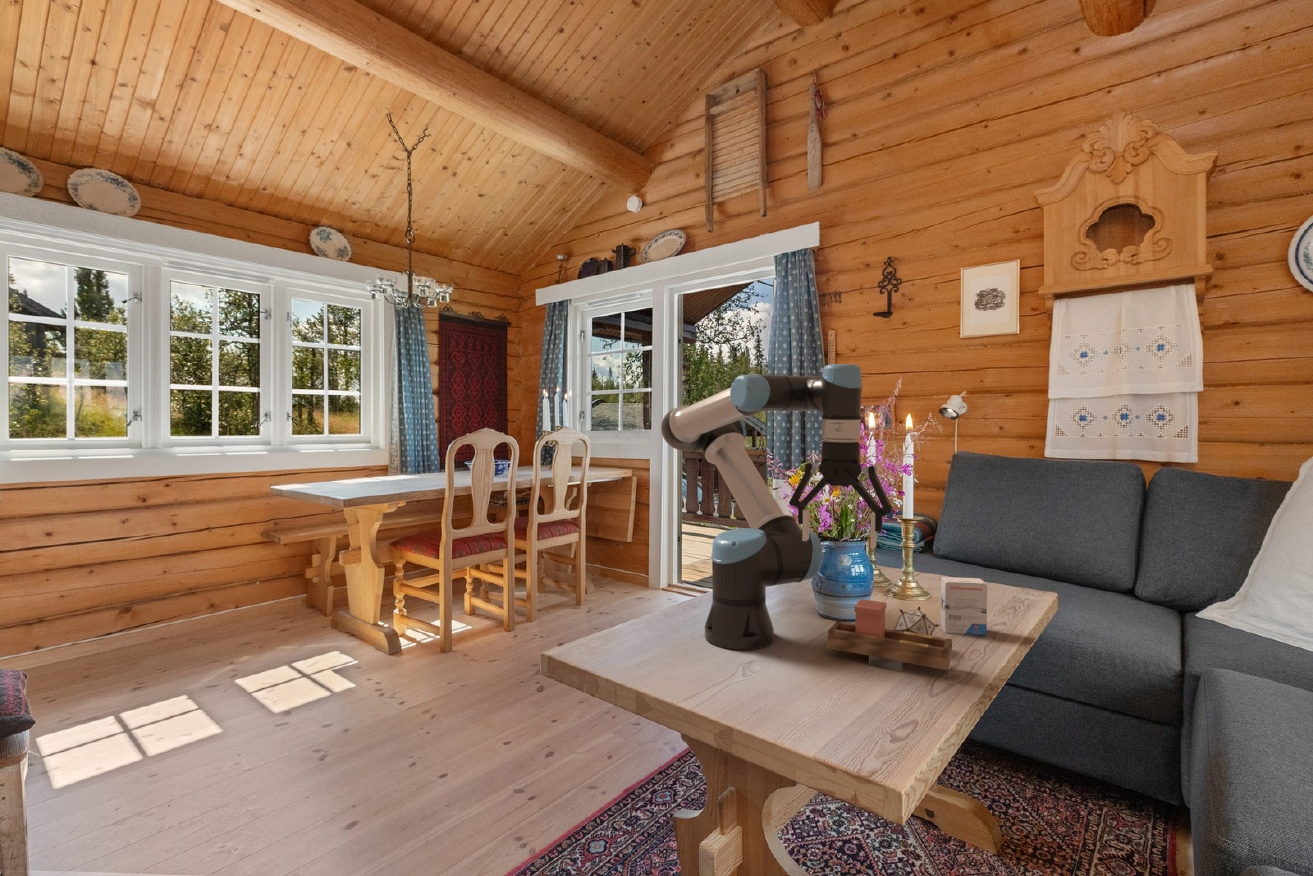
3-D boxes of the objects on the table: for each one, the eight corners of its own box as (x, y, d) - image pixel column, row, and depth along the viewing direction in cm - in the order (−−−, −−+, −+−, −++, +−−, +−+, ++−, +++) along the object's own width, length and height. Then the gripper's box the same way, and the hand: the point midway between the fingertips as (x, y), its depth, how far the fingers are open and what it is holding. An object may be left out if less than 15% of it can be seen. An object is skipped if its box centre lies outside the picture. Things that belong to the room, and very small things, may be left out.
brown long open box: (827, 657, 123) (827, 630, 123) (836, 646, 129) (836, 620, 129) (948, 681, 112) (948, 650, 112) (951, 667, 118) (952, 638, 118)
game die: (923, 667, 127) (946, 639, 121) (883, 650, 129) (904, 621, 123) (924, 634, 134) (945, 606, 128) (886, 618, 136) (905, 590, 130)
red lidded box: (854, 640, 121) (854, 606, 121) (860, 631, 126) (860, 599, 126) (880, 644, 118) (880, 610, 118) (886, 635, 123) (886, 602, 123)
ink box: (981, 628, 139) (981, 577, 139) (987, 636, 134) (987, 583, 134) (940, 626, 141) (940, 575, 141) (945, 633, 136) (945, 581, 136)
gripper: (775, 439, 127) (774, 540, 128) (904, 443, 115) (901, 554, 116) (785, 437, 133) (784, 533, 135) (908, 441, 122) (905, 546, 123)
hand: (838, 543), depth 125 cm, fingers open, 13 cm apart
